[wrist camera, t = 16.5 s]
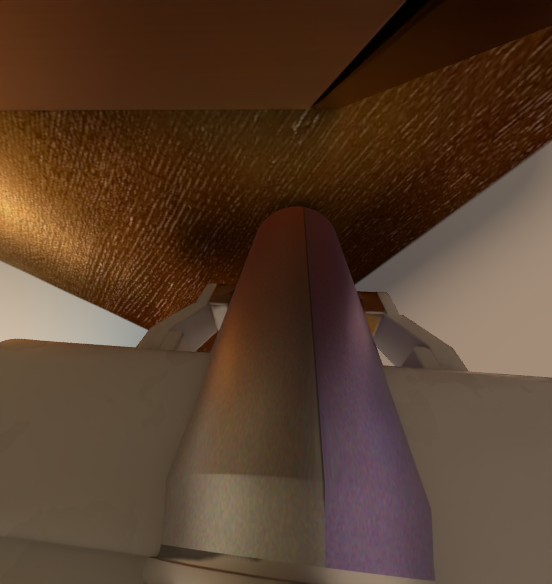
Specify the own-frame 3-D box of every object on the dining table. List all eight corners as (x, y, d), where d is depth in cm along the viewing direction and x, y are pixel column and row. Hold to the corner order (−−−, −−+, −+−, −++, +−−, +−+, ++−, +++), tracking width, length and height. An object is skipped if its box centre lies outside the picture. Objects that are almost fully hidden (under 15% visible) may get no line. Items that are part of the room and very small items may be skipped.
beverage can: (348, 211, 14) (614, 667, 2) (323, 282, 18) (373, 592, 6) (259, 196, 14) (42, 595, 2) (253, 271, 18) (164, 564, 6)
